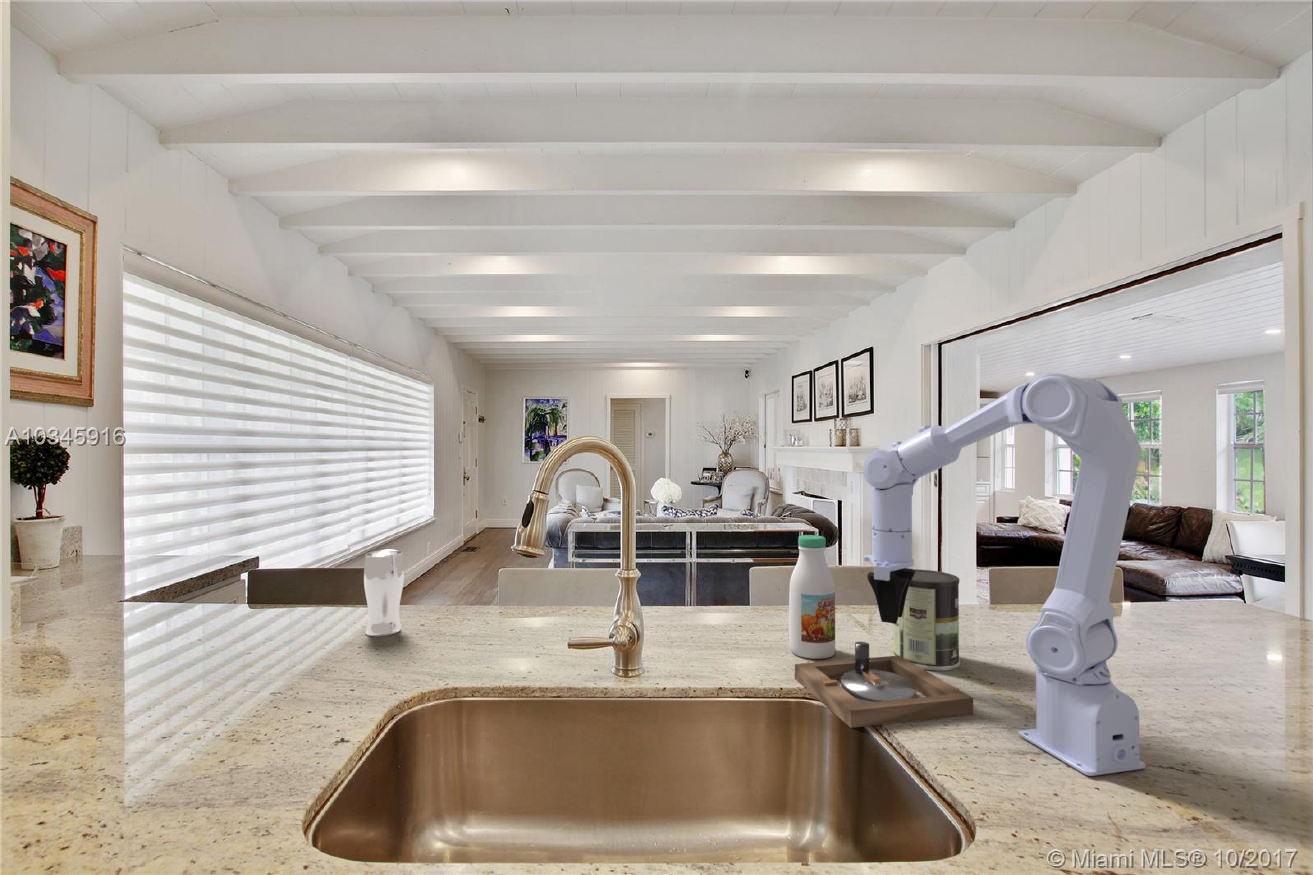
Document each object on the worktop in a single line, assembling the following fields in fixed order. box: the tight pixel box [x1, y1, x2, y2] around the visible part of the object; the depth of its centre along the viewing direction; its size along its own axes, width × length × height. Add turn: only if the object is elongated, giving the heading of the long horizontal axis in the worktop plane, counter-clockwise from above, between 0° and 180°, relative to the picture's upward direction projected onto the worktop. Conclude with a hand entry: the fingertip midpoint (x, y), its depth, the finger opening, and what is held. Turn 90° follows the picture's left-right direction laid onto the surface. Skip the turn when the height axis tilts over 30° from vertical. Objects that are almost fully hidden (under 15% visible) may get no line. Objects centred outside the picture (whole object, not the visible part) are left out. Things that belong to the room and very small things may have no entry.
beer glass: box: [363, 549, 405, 637], centre depth 112 cm, size 7×7×15 cm
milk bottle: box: [788, 534, 836, 660], centre depth 101 cm, size 8×8×20 cm
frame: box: [794, 655, 974, 729], centre depth 84 cm, size 16×18×3 cm
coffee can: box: [892, 568, 961, 672], centre depth 98 cm, size 10×10×14 cm
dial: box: [840, 641, 917, 703], centre depth 84 cm, size 10×10×6 cm
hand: (891, 619), depth 89 cm, fingers open, 3 cm apart
